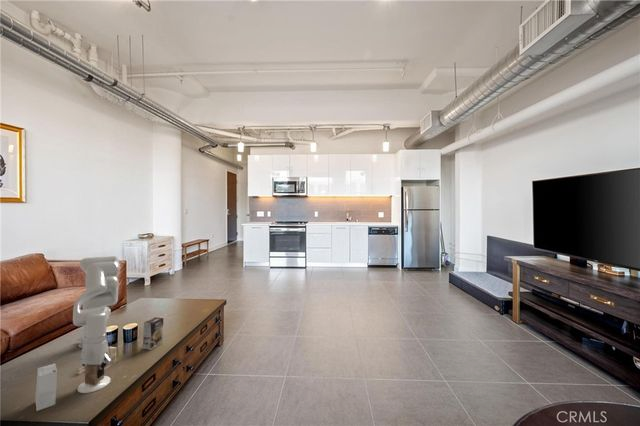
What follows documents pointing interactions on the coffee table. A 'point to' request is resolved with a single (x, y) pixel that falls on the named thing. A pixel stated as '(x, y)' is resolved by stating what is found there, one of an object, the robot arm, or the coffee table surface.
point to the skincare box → (46, 386)
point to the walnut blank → (92, 374)
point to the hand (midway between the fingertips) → (94, 375)
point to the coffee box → (153, 333)
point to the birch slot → (111, 355)
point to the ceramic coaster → (93, 386)
